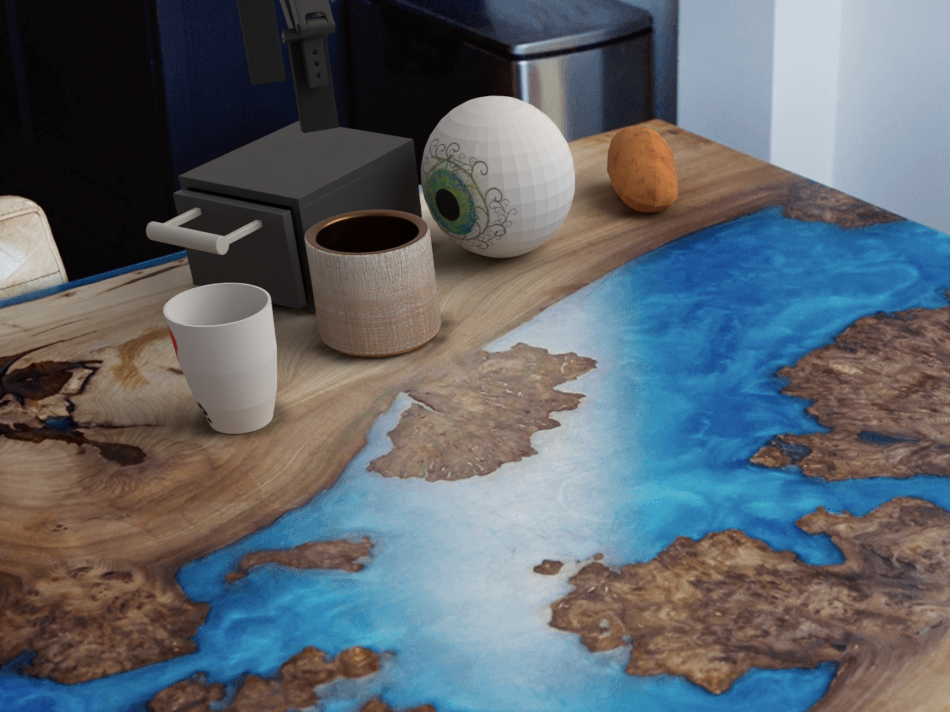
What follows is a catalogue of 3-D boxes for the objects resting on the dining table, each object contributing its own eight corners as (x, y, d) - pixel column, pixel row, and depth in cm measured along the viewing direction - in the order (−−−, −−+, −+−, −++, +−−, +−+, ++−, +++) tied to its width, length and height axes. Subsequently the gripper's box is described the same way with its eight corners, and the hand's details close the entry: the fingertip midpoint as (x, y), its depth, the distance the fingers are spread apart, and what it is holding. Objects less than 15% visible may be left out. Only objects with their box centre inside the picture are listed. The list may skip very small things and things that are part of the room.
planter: (458, 314, 131) (448, 212, 125) (417, 366, 122) (403, 260, 116) (349, 304, 133) (333, 204, 127) (300, 355, 124) (281, 250, 118)
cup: (218, 391, 119) (192, 279, 113) (308, 400, 118) (287, 286, 112) (173, 438, 113) (143, 322, 107) (267, 447, 111) (243, 330, 105)
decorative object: (399, 252, 142) (380, 99, 133) (514, 213, 150) (503, 66, 141) (493, 296, 134) (479, 135, 125) (609, 251, 142) (604, 98, 133)
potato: (661, 178, 159) (670, 115, 154) (681, 229, 150) (692, 164, 145) (598, 174, 157) (605, 110, 153) (615, 225, 148) (623, 160, 143)
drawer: (254, 336, 125) (234, 239, 120) (146, 310, 130) (123, 216, 124) (403, 246, 141) (392, 156, 136) (302, 226, 146) (287, 138, 140)
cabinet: (317, 313, 131) (297, 198, 125) (202, 287, 136) (177, 175, 130) (425, 246, 144) (413, 138, 137) (316, 224, 149) (299, 119, 142)
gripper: (354, -194, 90) (393, 142, 103) (247, -235, 107) (293, 58, 120) (237, -185, 87) (293, 159, 100) (147, -229, 104) (205, 70, 117)
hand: (293, 104), depth 110 cm, fingers open, 13 cm apart
